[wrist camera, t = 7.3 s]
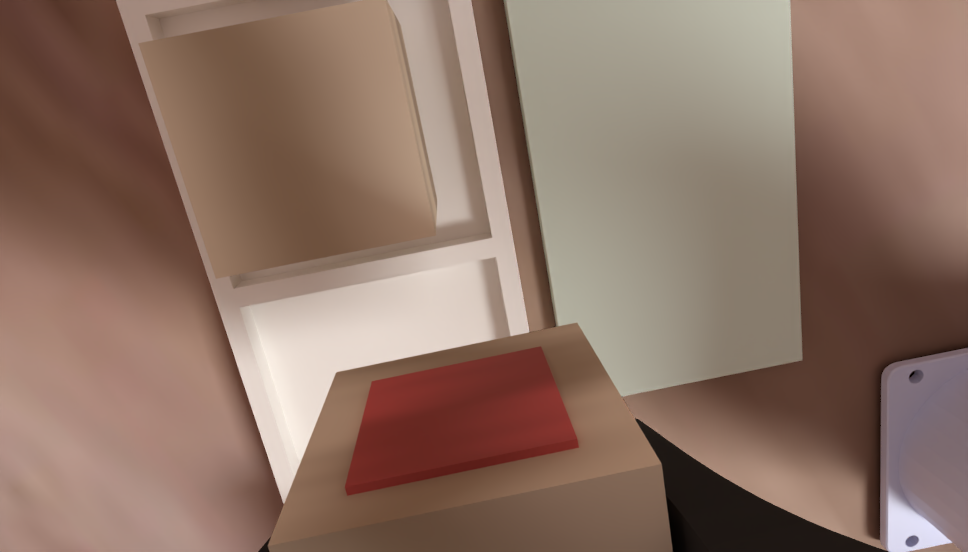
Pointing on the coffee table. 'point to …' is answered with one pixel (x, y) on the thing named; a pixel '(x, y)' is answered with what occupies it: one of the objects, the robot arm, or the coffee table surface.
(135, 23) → the sorting tray
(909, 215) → the coffee table surface
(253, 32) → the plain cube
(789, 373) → the coffee table surface
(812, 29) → the coffee table surface
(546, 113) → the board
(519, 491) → the lettered cube
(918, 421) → the robot arm
